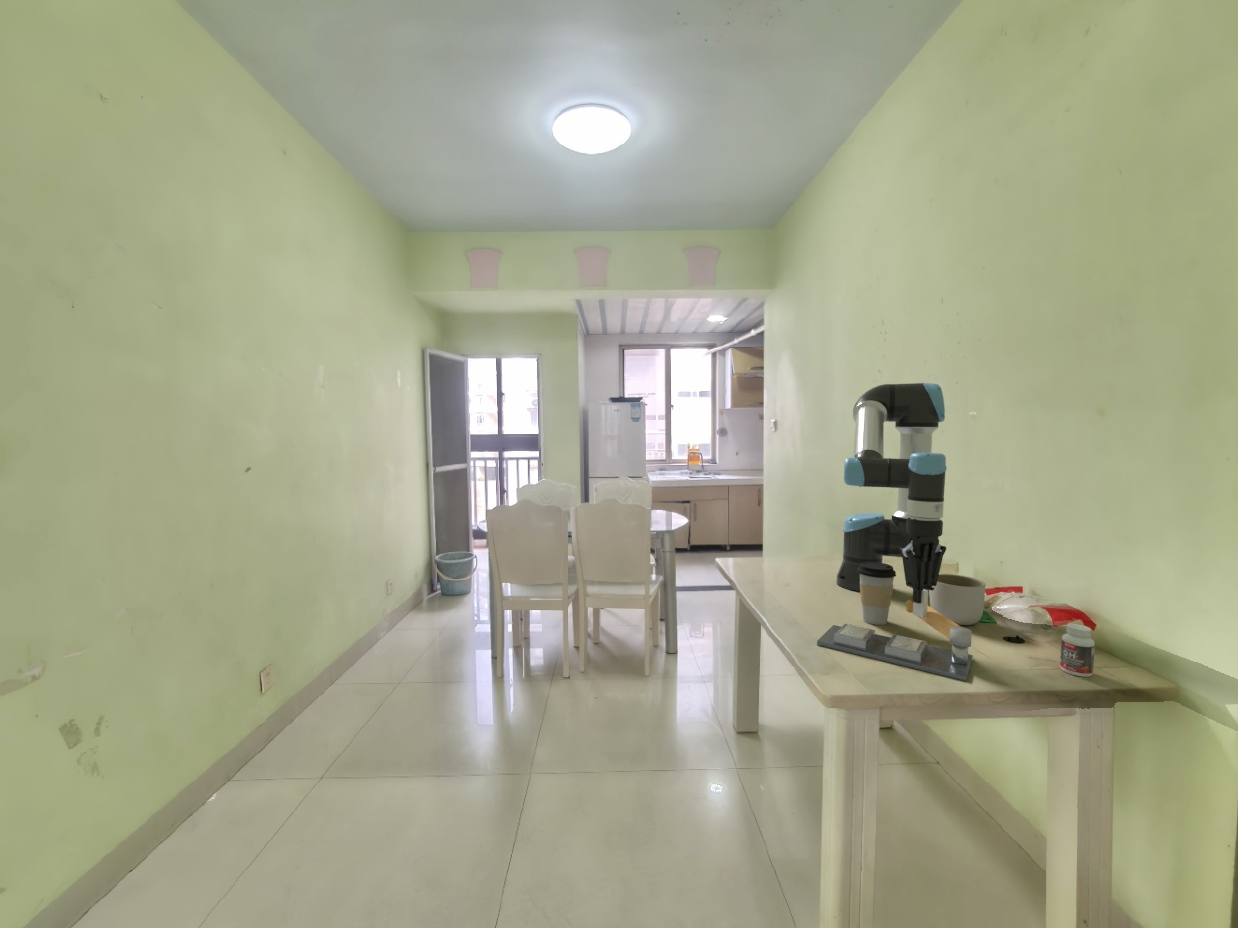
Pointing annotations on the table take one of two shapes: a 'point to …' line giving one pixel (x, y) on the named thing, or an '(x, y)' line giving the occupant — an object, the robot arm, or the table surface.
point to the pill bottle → (1077, 651)
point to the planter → (958, 598)
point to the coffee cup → (876, 591)
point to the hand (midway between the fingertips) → (919, 615)
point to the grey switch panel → (899, 650)
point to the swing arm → (945, 626)
